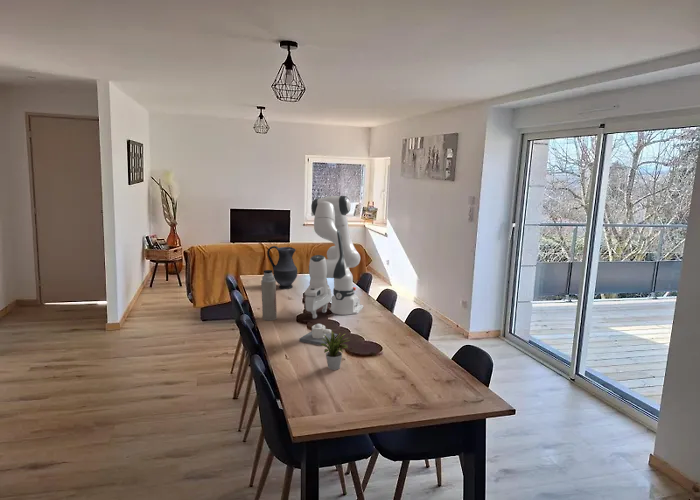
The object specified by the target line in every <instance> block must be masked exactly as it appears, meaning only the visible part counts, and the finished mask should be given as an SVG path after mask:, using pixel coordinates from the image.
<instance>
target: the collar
mask: <svg viewBox="0 0 700 500" xmlns="http://www.w3.org/2000/svg"><path fill="white" fill-rule="evenodd" d="M315 325H316V324H314V325H312V326H311V331H312V337H313V338H317V339H319V338H324V337H325V336H326V334H331V333H332V329H328V328H326V325H324V324H322V328H315ZM324 335H325V336H324Z"/></svg>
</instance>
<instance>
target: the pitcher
mask: <svg viewBox="0 0 700 500" xmlns="http://www.w3.org/2000/svg"><path fill="white" fill-rule="evenodd" d="M272 249H276V250H277V252H278V260H277V262H276V264H275V263H274V260H273V259H272V257H271V254H270V253H271V252H270V251H271V250H272ZM266 252H267V258H268V260H269V262H270V265H271V267H272V273H273V276H274V279H275V280H276V283H277V284H278V285H279V286H278V288H279V290H280V289H282V290H288V289H293V283H294V281H296V279H297V277H298V268H297V266H296V264H295V263H294V259H293V255H294V254H295V252H296V248H294V247H291V246H284V247H282V246H281V247H278V246H276V245H272V246H270V247H268V249H267V251H266Z"/></svg>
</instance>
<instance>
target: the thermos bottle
mask: <svg viewBox="0 0 700 500" xmlns="http://www.w3.org/2000/svg"><path fill="white" fill-rule="evenodd" d="M261 279H262V280H261V282H260V283H261V286H260V287H261V304H262V307H261V308H262V309H261V310H262V312H261V313H262V320H263V321H275V320H277V318H278V315H277V313H278V312H277V311H278V309H277V289H276V288H277V287H276V285H277V284H276V283H277V282H276V280H275V278H274V275H273V269H266V270H263V276H262V277H261Z"/></svg>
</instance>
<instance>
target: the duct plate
mask: <svg viewBox="0 0 700 500" xmlns="http://www.w3.org/2000/svg"><path fill="white" fill-rule="evenodd" d="M314 325H315V328H322V325H323V324H322V323H316V324H314ZM331 334H332V332H331ZM331 334H326V337H327V338H328V337H329V338H330V339H329V338H328V339H329V341H330V340H331ZM334 335H335V337H336V336H337V335H339V334H338V333H335V332H334ZM324 338H325V337H324ZM324 338H319V339H317V338H313V337H312V330H311V331H309V332H308V333H306V334H305V335H302V336H301V337H300V338H299V340H298V341H299V342H302V343H306V344H312V345H318V346H323V345H321V344H326V343H327V342H326V341H325V339H326V338H325V339H324ZM336 338H337V337H336ZM322 339H323V340H324V341H325V342H326V343H325V342H324V341H322ZM330 343H331V341H330ZM327 344H328V343H327ZM327 344H326V345H327ZM323 347H324V346H323Z"/></svg>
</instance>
